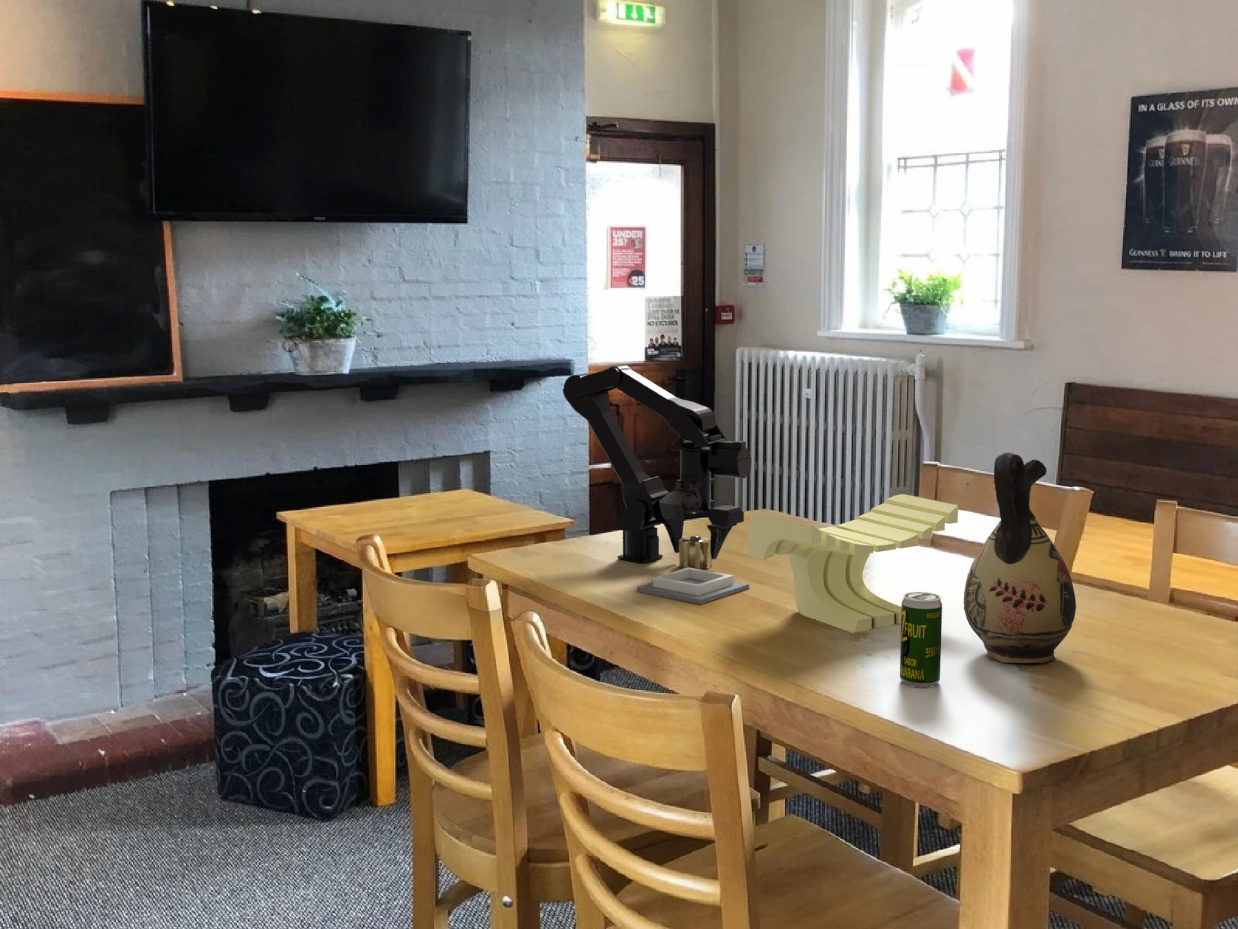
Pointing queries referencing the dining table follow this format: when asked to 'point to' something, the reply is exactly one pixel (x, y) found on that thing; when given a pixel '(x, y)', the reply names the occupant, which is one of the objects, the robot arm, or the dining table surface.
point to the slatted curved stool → (847, 557)
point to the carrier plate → (693, 585)
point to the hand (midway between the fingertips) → (695, 555)
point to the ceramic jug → (1019, 576)
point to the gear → (695, 552)
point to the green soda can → (920, 639)
